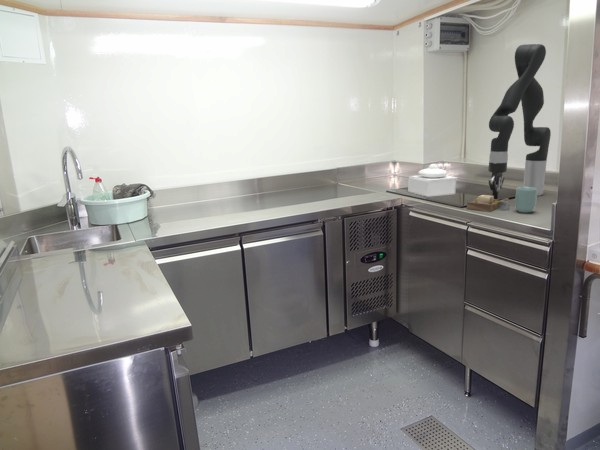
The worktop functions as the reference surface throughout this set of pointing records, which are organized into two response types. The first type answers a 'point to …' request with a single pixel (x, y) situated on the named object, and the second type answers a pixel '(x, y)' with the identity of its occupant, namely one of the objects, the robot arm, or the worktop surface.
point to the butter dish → (432, 182)
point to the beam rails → (484, 205)
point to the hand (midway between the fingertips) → (495, 199)
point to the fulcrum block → (503, 205)
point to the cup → (525, 199)
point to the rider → (485, 199)
